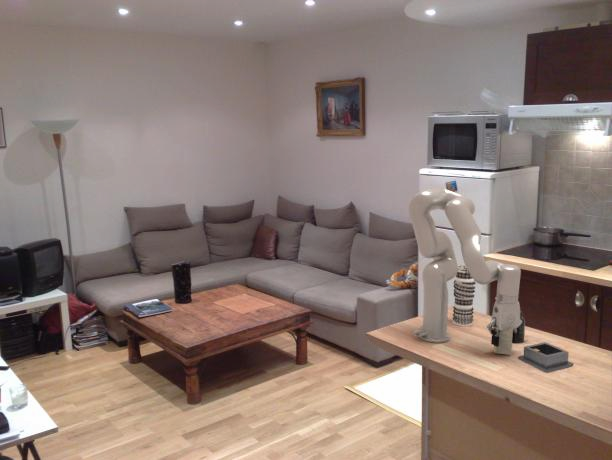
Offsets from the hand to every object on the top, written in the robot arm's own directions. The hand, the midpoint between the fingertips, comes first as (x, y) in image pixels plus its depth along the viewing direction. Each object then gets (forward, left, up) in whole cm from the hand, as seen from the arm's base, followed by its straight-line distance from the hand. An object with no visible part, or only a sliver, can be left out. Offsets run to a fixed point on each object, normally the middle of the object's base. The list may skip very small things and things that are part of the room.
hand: (502, 343), depth 208 cm
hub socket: (+8, -13, -4) cm, 16 cm away
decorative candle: (+9, +33, -4) cm, 35 cm away
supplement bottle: (+14, +8, -4) cm, 17 cm away
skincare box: (0, 0, -4) cm, 4 cm away
